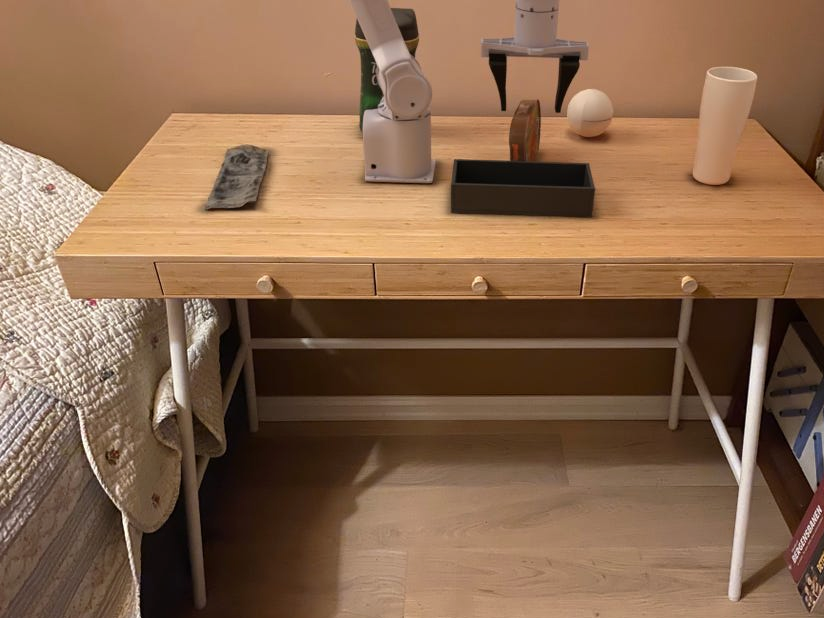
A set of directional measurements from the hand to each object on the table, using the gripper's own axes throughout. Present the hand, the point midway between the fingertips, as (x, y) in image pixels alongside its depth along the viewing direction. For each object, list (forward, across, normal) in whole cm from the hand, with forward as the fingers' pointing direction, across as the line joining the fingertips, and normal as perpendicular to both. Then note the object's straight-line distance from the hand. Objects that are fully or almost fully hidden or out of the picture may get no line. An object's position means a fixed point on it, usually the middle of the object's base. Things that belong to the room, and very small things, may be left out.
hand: (530, 109), depth 113 cm
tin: (+8, 0, 0) cm, 8 cm away
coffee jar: (+8, -22, +12) cm, 26 cm away
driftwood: (+8, -40, -8) cm, 42 cm away
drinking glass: (+8, +26, -3) cm, 28 cm away
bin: (+8, -1, -13) cm, 15 cm away
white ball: (+8, +11, +13) cm, 19 cm away
